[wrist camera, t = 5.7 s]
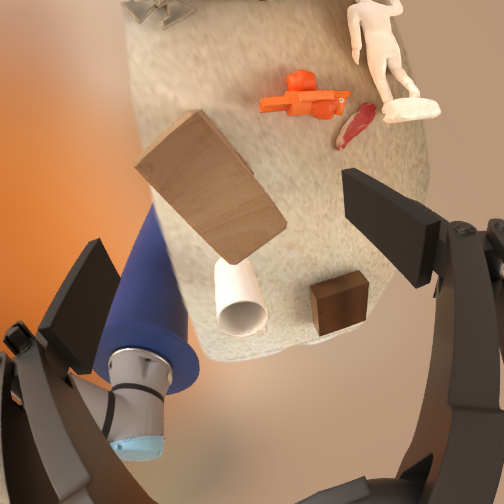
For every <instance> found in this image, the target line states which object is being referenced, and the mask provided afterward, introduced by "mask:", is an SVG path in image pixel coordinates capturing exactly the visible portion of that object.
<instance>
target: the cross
mask: <svg viewBox="0 0 504 504" xmlns="http://www.w3.org/2000/svg"><path fill="white" fill-rule="evenodd" d="M121 5H122V6H123V7H124V8H125V9H126V10H127V11H128V13H129V14H130V15H131V16H132V17H133V18H134V19H135V20H136V21H137V23H139V24H141V23H142V22H143V21H144V20H145V19H146V17H147V16H148V15H149V14H150V13H151V12H152V11H153V10H154V9H155V8H156V7H158V8H159V9H161V8H162V7H166V10H167V14H168V17H166V18H165V19H163V20H161V21H160V23H161V26H162V29H163V31H164V30H165V29H167V28H168V27H170V26H172V25H173V24H175V23H177V22H178V21H180V20H181V19H183V18H185V17H187V16H188V15H190V14H192V13H194V12H196V11H197V10H196V9H194V8H192V7H190V6H187V5H185V4H183V3H181V2H179V1H177V0H146V1H142V2H139V3H136V2H135V1H134V0H128V1H124V2H121Z"/></svg>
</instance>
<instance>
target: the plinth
mask: <svg viewBox="0 0 504 504" xmlns="http://www.w3.org/2000/svg"><path fill="white" fill-rule="evenodd" d="M368 288H369V282H368V280H367V279H366V278H365V277H364V275H363V274H362V273H361V272H360V270H359V271H356V272H353V273H350V274H347V275H343V276H340V277H337V278H334V279H331V280H328V281H325V282H321V283H318V284H315V285H312V286H310V295H311V305H312V315H313V324H314V326H315V328H316V330H317V332H318V335H319V336H323V335H326V334H329V333H332V332H335V331H338V330H340V329H343V328H346V327H349V326H351V325H354V324H357V323H359V322H362V321H365V320H366V312H367V301H368Z"/></svg>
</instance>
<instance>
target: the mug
mask: <svg viewBox="0 0 504 504" xmlns="http://www.w3.org/2000/svg"><path fill="white" fill-rule="evenodd" d="M214 275H215V296H216V313H217V324H218V326H219V328H220V329H221V330H222V331H223V332H224V333H226V334H228V335H230V336H235V337H245V336H250V335H253V334H255V333H257V332H259V333H260V334H262V335H263V334H265V333H266V332H267V331H266V323H267V321H268V311H267V309H266V305H265V302H264V299H263V296H262V293H261V290H260V288H259V285H258V282H257V279H256V276H255V273H254V270H253V267H252V264H251V262H250V260H249V259H248V258H245V259H244V260H242V261H241V262H240V263H238V264H237V265H230V264H228V263H227V262H226V261H225V260H224V259H223V258H222V257H221V258H220V259H219V260H218V261H217V263H216V265H215V268H214Z"/></svg>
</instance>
